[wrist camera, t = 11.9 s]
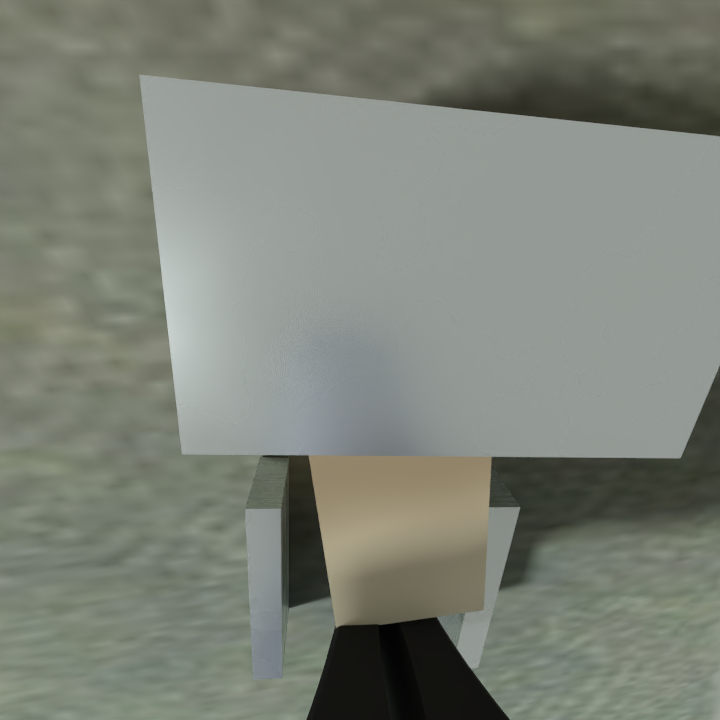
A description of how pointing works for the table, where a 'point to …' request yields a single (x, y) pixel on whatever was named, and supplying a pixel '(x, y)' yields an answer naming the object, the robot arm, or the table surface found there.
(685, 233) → the block
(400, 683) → the robot arm
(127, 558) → the table surface
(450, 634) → the channel
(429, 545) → the beige rectangular bar
